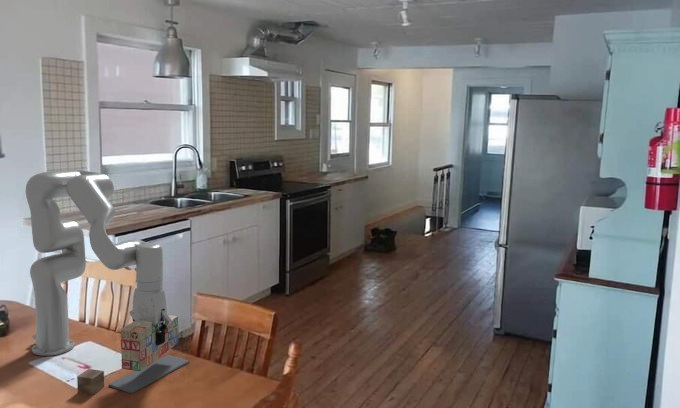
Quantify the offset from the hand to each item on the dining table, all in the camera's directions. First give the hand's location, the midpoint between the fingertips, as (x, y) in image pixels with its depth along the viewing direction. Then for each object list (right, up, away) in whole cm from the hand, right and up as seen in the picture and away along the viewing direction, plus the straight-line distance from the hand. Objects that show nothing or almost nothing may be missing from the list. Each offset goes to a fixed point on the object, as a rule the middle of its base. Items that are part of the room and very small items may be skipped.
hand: (150, 340), depth 167 cm
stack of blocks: (0, -5, +1) cm, 5 cm away
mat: (-1, -11, +2) cm, 11 cm away
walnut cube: (-14, -12, -10) cm, 21 cm away
